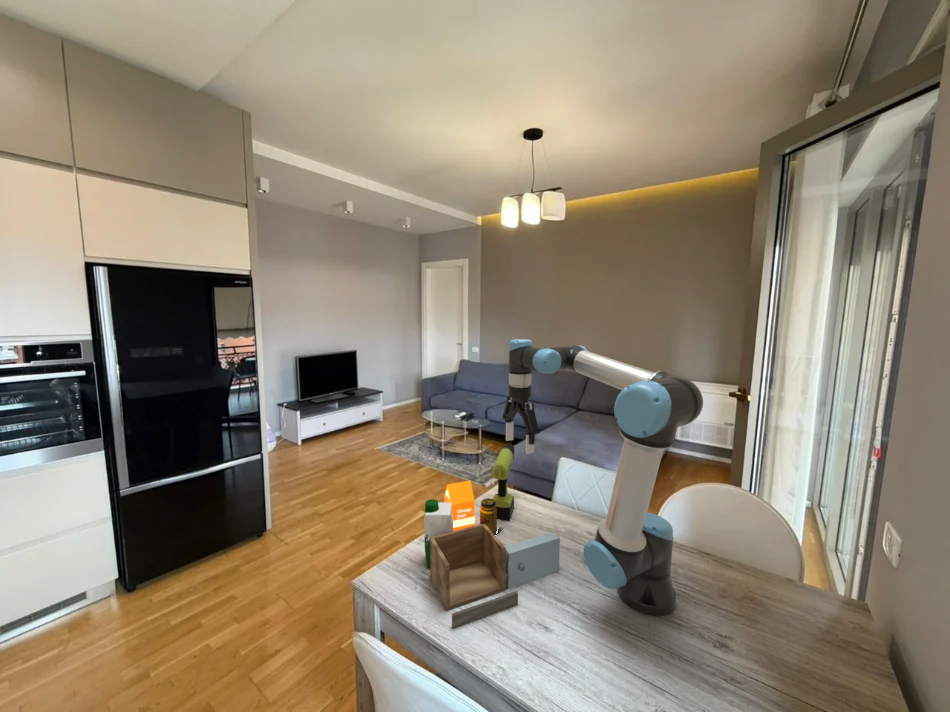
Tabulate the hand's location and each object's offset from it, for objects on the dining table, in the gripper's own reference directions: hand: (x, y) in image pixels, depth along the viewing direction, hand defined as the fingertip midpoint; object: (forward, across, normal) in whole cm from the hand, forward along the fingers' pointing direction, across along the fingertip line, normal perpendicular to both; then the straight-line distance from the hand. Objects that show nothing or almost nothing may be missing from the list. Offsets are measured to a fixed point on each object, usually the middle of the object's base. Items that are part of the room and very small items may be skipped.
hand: (519, 446), depth 132 cm
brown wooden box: (+33, -17, +25) cm, 45 cm away
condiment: (+34, +7, +8) cm, 35 cm away
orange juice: (+34, +9, +19) cm, 39 cm away
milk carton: (+34, -1, +30) cm, 45 cm away
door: (+33, -19, +6) cm, 39 cm away
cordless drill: (+33, +19, -5) cm, 39 cm away
